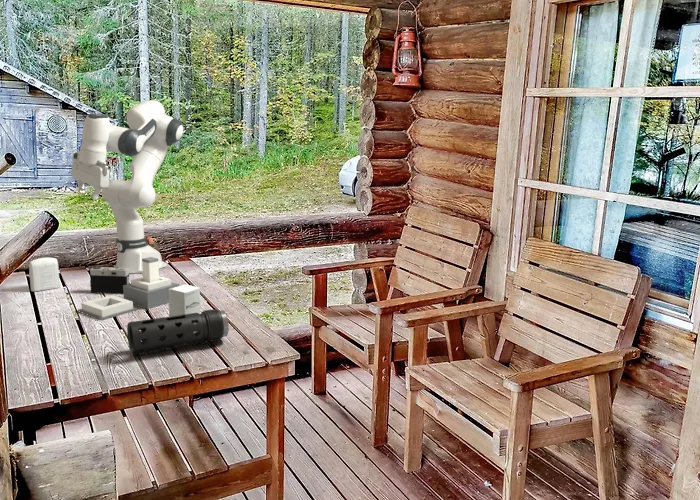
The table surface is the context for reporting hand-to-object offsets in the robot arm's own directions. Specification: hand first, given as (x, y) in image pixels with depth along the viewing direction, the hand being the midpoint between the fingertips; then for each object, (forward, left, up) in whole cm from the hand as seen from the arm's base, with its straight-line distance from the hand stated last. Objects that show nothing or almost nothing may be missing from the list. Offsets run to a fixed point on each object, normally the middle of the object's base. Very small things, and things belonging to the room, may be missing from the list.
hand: (87, 196), depth 216 cm
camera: (-7, +2, -38) cm, 38 cm away
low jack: (+8, +21, -38) cm, 44 cm away
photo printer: (+8, -19, -38) cm, 43 cm away
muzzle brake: (+14, +66, -38) cm, 77 cm away
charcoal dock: (-9, +23, -38) cm, 45 cm away
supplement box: (0, +52, -38) cm, 64 cm away
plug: (-9, +23, -32) cm, 40 cm away
